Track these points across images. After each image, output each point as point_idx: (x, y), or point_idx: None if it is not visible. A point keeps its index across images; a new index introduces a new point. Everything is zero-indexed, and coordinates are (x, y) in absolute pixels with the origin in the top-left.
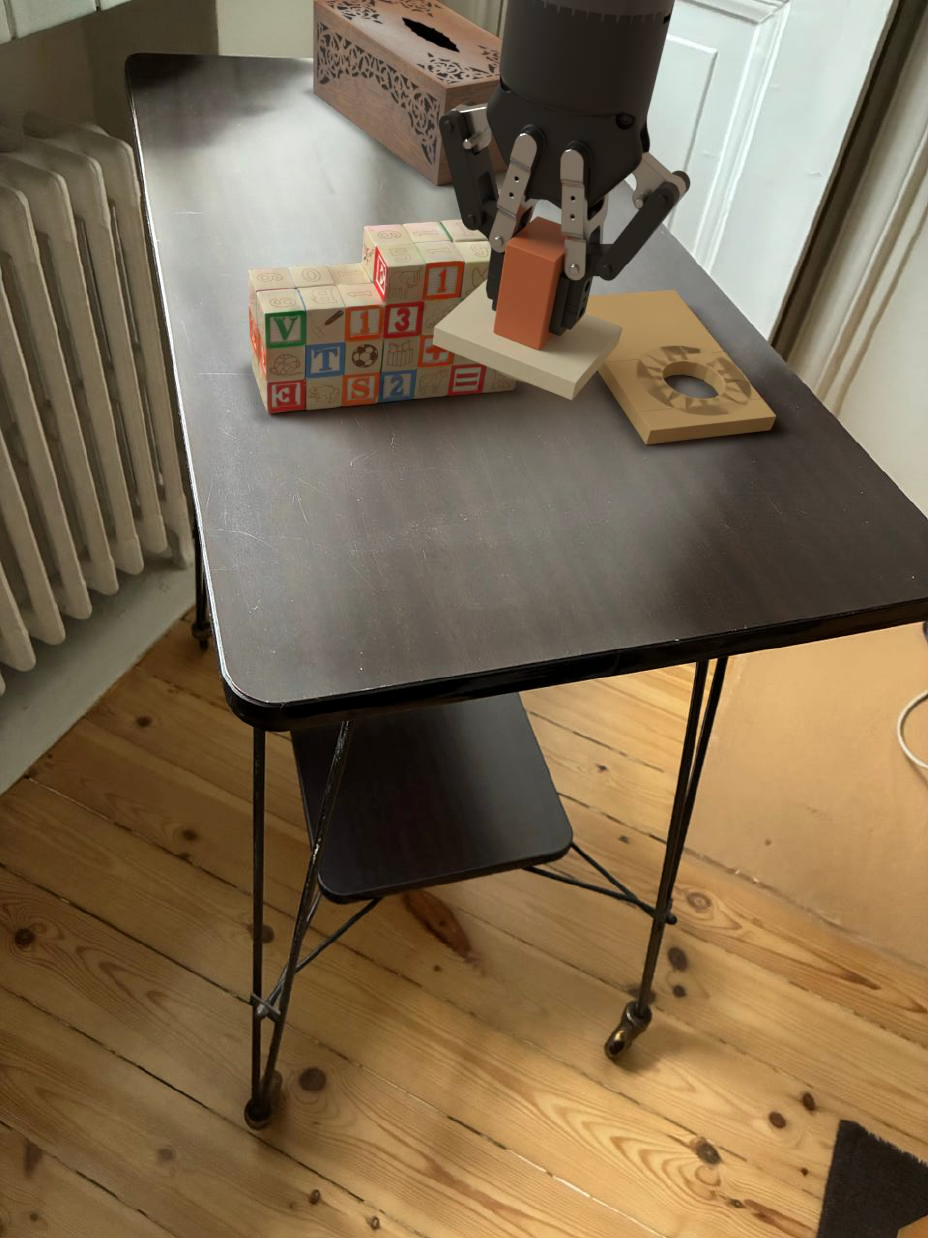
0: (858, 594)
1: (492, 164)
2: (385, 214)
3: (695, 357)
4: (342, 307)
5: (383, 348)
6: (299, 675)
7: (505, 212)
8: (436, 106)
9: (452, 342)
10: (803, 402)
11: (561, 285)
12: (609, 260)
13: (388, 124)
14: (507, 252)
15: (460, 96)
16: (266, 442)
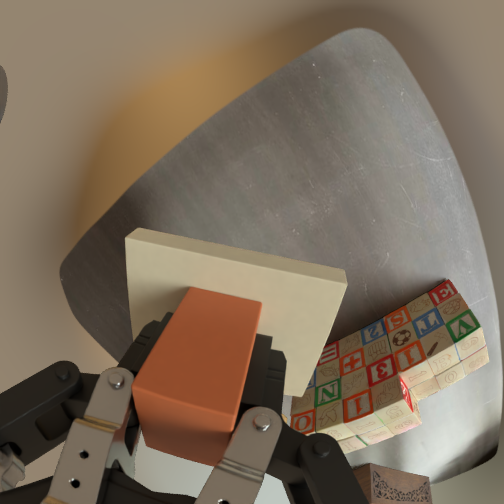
0: (73, 258)
1: None
2: (394, 442)
3: None
4: (429, 358)
5: (390, 347)
6: (349, 47)
7: (241, 470)
8: (375, 494)
9: (315, 270)
10: None
11: None
12: (53, 383)
13: (396, 479)
14: (233, 402)
15: None
16: (444, 253)
